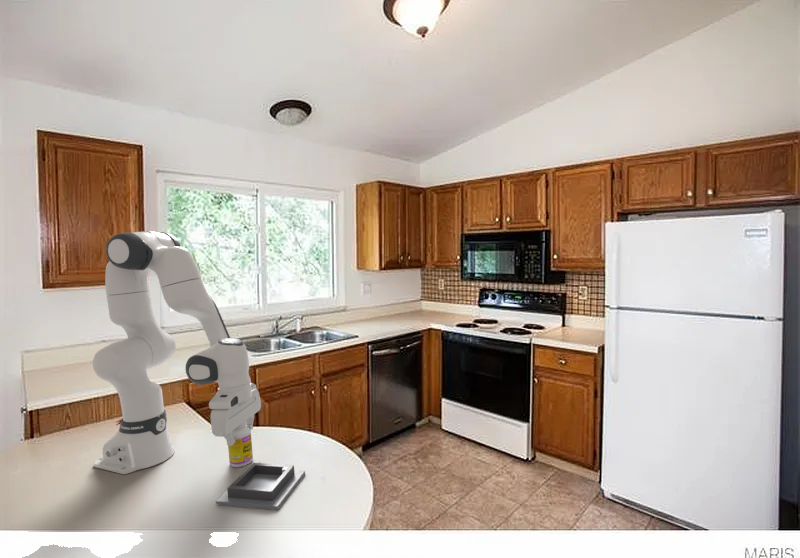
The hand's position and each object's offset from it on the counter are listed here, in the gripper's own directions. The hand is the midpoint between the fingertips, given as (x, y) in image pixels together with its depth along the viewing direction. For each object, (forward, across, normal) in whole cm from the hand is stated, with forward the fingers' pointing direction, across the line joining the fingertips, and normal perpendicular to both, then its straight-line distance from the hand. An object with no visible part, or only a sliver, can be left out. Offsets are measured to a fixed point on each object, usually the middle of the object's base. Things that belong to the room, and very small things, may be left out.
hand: (240, 437), depth 126 cm
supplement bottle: (+8, 0, -1) cm, 8 cm away
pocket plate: (+8, +12, +13) cm, 20 cm away
